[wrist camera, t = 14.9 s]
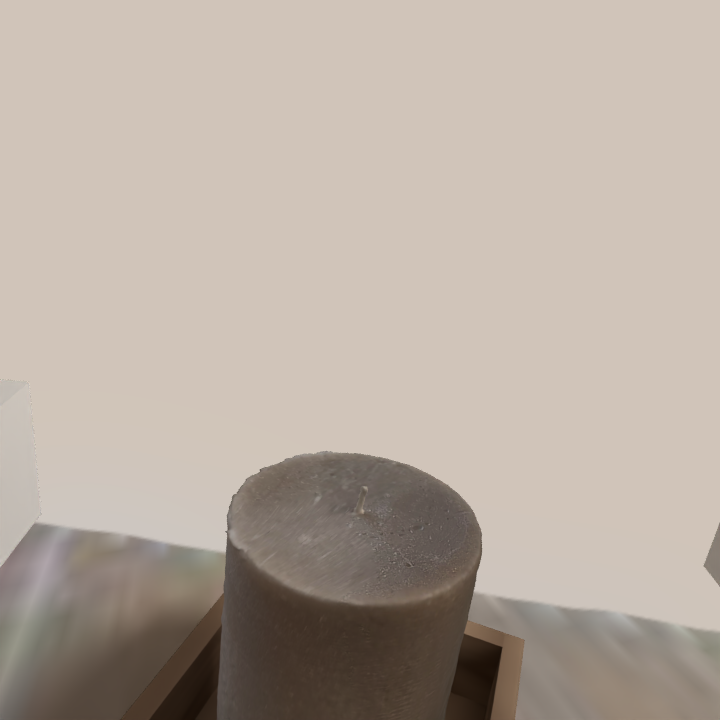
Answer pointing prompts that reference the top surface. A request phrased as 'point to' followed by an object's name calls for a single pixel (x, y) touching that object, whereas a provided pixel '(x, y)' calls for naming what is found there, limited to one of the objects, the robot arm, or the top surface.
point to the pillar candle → (344, 591)
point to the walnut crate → (202, 663)
